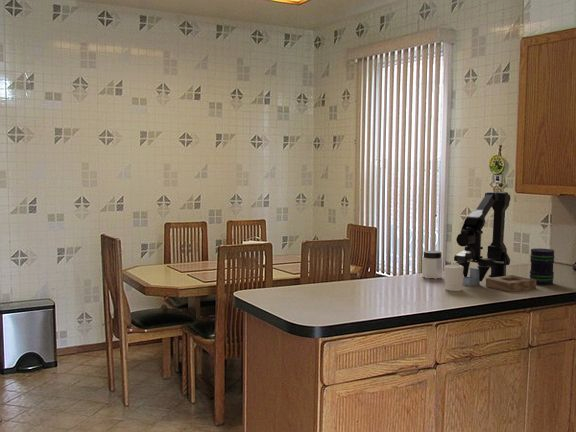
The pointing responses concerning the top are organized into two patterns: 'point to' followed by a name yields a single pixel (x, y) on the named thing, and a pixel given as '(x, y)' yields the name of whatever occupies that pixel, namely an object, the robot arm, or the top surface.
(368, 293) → the top surface
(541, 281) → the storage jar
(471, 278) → the grey stepped block
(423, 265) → the jar
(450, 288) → the white cup
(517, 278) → the well block
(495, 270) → the robot arm
